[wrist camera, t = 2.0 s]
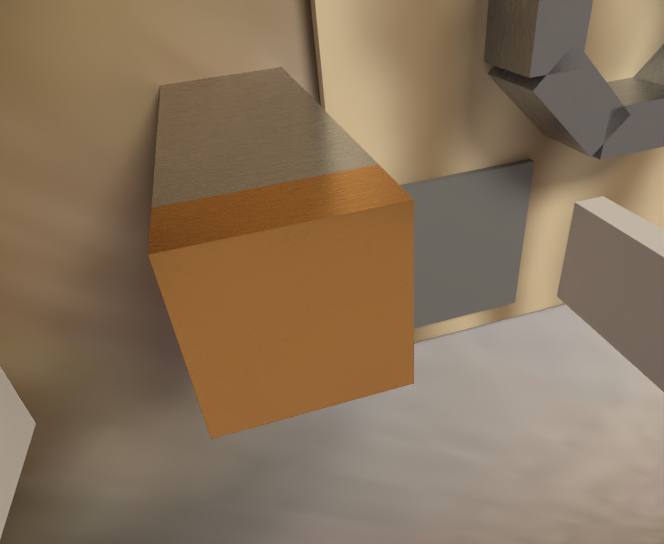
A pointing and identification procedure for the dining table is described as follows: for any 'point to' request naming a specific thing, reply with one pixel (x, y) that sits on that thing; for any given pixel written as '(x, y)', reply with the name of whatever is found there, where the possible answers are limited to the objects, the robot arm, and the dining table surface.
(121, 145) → the dining table surface
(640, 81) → the grey octagonal ring
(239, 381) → the block
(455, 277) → the pad
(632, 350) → the robot arm
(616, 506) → the dining table surface
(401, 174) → the board
